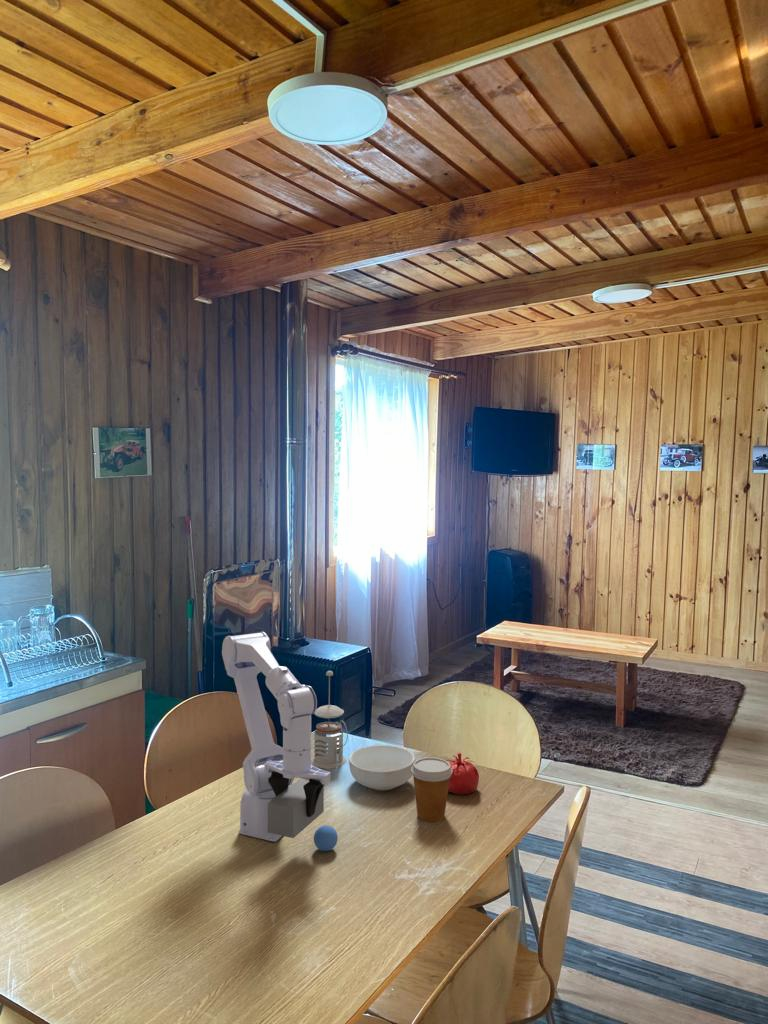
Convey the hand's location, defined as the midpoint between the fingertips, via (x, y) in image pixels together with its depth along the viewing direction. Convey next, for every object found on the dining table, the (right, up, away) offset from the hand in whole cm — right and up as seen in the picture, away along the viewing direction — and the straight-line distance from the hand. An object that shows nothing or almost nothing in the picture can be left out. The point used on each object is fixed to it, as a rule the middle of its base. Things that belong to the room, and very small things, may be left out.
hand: (296, 811), depth 154 cm
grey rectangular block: (0, -2, 0) cm, 2 cm away
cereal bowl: (+17, -8, +36) cm, 41 cm away
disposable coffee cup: (+29, -9, +20) cm, 36 cm away
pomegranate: (+37, -8, +34) cm, 50 cm away
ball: (+6, -7, +3) cm, 9 cm away
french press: (+3, -7, +50) cm, 50 cm away
